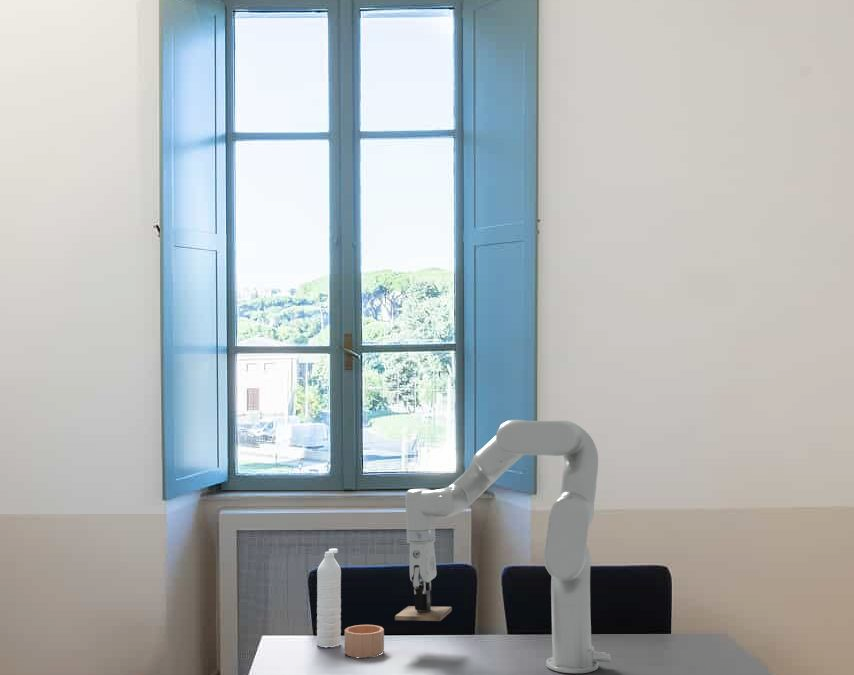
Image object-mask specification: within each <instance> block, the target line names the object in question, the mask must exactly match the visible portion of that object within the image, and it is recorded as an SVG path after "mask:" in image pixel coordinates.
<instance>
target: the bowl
mask: <svg viewBox="0 0 854 675" xmlns="http://www.w3.org/2000/svg"><path fill="white" fill-rule="evenodd" d="M384 650H385V629H384V628H383V627H382V626H380V625H376V624H375V625H374V624H359V625H358V624H357V625H353V626H348V627H346V628H345V629H344V654H345V653H346V654H347V655H348V656H351V657H350V658H352V657H359V658H358V659H368V658H367V657H373V656H377V655H379V654H381V653H382V652H383V653H384ZM348 656H347V657H348ZM377 657H378V656H377ZM373 658H374V657H373Z"/></svg>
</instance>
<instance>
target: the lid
mask: <svg viewBox="0 0 854 675" xmlns="http://www.w3.org/2000/svg"><path fill="white" fill-rule="evenodd" d="M430 591H431V590H429V591H427V590H426V593H425V594H427V610H415V605H413V606H412V605H411V606H410V605H408V606H407V607H405V608H403V609H402V610H401V611H400V612H399V613H397V614H395V616H394V620H395V621H416V622H417V621H418V622H419V621H421V622H422V621H425V622H426V621H427V622H430V621H431V622H441V621H442V620H443V619H445V617H447V615H449V614H450V613H451V612H452V610H453V608H452V606H430Z"/></svg>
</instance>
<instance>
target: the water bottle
mask: <svg viewBox="0 0 854 675" xmlns="http://www.w3.org/2000/svg"><path fill="white" fill-rule="evenodd" d="M338 553H339V549H338V548H329V549H328V551H325V552H324V558H323V559H322V561H321V562H320V564H319V565H318V568H317V569H316V570H317V571H316V574H317V575H316V577H317V582H316V583H317V584H316V587H317V588H316V592H317V593H316V594H317V595H316V597H317V598H316V600H317V601H316V606H317V607H316V614H317V616H316V628H317V629H316V635H317V636H316V645H317V644H318V645H320V646H334V645H337V644H339V643H340V642H341V643H342V635H341V633H342V628H341V627H342V620H341V618H342V615H341V613H342V607H341V606H342V598H341V596H342V594H341V593H342V591H341V589H342V585H341V584H342V582H341V581H342V569H341V567H340V565H339V563H338V562H337V560H336V558H335V557H334V556H335V554H338Z"/></svg>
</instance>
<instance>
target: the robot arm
mask: <svg viewBox="0 0 854 675" xmlns="http://www.w3.org/2000/svg"><path fill="white" fill-rule="evenodd" d="M523 456H549V457H550V456H552V457H555V456H556V457H559V456H560V457H561V456H563V458H564V467H563V470H562V475H561V476H562V478H561V487H560V493H559V497H558V498H557V499H556V500H555V501H554V503H553V504H552V506H551V508H550V512H549V517H548V524H547V531H546V538H545V547H544V554H543V561H544V562H543V563H544V567H545V569H546V570H547V572H548V574H549V575H550V576H551V581H550V596H551V598H550V599H551V600H550V602H551V605H550V606H551V641H552V642H551V643H552V644H551V646H552V651H551V652H552V656H551V657H550V656H549V657H548V658H547V659H546V660H545V661H546V662H545V663H546V667H547V668H548V669H550V670H551V671H555V672H558V673H564V674H586V673H592V672H595V671H596V670H598V669H599V662H601V663H608V664H609V663H611V653H606V652H605V651H603V652H601V651H600V652H599V651H596V650H595V649H594V645H592V625H591V553H590V550H589V549H590V548H589V547H588V544H587V541H588V540H587V539H588V535H589V534H588V532H589V526H590V525H591V523H592V521H593V519H594V511H595V510H594V509H595V501H596V500H595V499H596V492H597V491H596V490H597V479H598V471H599V455H598V449H597V446H596V443H595V441H594V440H593V438H592V437H591V434H589V433H588V432H587V431H586V430H585V429H584V428H583V427H582V426H580V425H578V424H577V423H574V422H573V421H568V420H522V419H509V420H507V421H505V422H503V423H502V424H500V426H499V428H498V429H497V431H496V435H494V436H493V438H491V439H490V440H489V441H488V442H487V443H486V444H485V445H484V446H483V447H482V448H480V449H479V450H478V451H477V452H476V453H475V454H474V455H473V457H472V460H471V463H470V465H469V466H468V468H467V469H466V470H465V471H464V472H463V473H462V474H461V475H460V476H458V478H457V479H455V481H453V482H452V483H451V484H450V485H449V486H446V487H443V488H439V489H430V488H412V489H408V490H407V491H406V493H405V497H404V498H405V523H406V524H405V525H406V543H407V544H409V578H410V581H411V582H412V586H413V593H414V606H415V610H427V594H425V593H426V590H427V591H430V607H432V600H433V599H432V580H433V579H435V578H436V576H437V562H436V561H437V560H436V551H435V550H436V549H435V542H436V525H435V524H436V521H435V518H439V519H446V518H447V519H448V518H450V517H453V516H456V515H458V514H461V513H462V512H464V511H465V510H466V509H467V508H469V506H471V505H472V504H473V503H474V502H475V501H476V500H477V499H478V498H479V497H481V495H482V494H484V493H485V491H486V490H488V488H490V487H491V486H492V485H493V484H494V483H495V482H497V480H498V479H499V478H500V477H501V476H502V475H503V474H504V473H506V472H507V471H508V470H509V469H510V468H511V467H512V466H513V465H515V463H517V461H519V460H520V459H521V458H523Z"/></svg>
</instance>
